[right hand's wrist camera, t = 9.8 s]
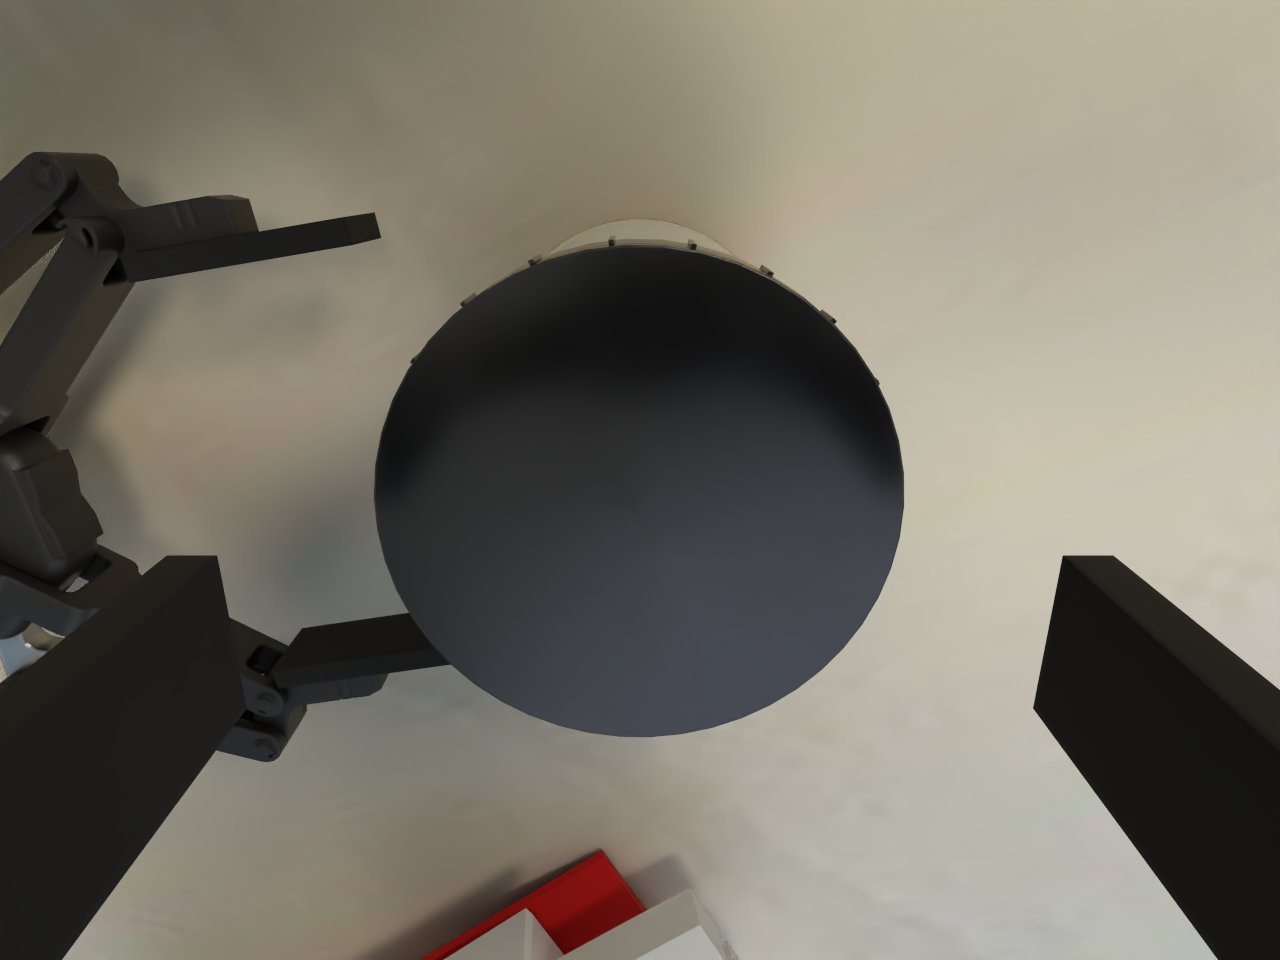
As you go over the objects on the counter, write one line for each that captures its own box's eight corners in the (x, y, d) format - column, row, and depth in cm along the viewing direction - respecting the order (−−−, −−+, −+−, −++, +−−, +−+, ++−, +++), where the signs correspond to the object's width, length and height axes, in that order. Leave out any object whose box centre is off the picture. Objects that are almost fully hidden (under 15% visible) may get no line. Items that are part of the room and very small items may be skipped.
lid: (984, 385, 18) (1016, 405, 16) (731, 762, 21) (738, 806, 20) (517, 131, 16) (505, 127, 15) (323, 586, 19) (297, 620, 18)
